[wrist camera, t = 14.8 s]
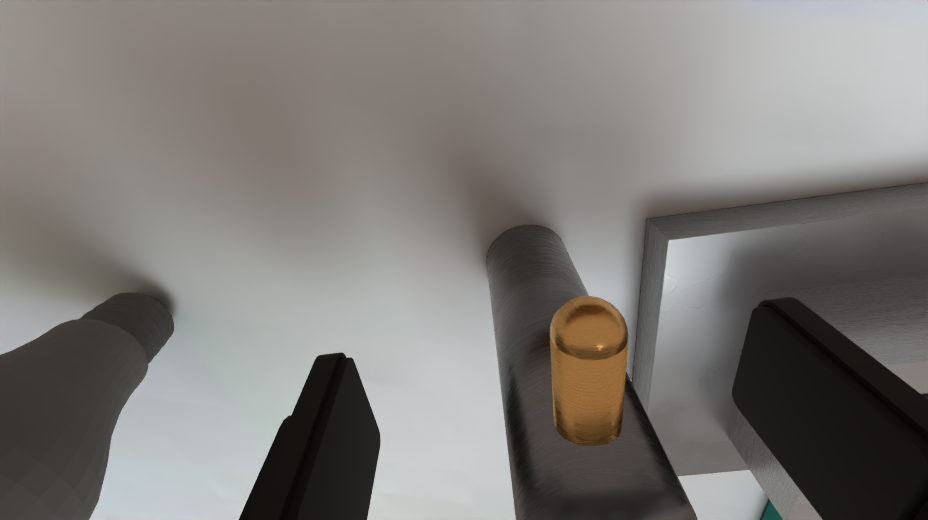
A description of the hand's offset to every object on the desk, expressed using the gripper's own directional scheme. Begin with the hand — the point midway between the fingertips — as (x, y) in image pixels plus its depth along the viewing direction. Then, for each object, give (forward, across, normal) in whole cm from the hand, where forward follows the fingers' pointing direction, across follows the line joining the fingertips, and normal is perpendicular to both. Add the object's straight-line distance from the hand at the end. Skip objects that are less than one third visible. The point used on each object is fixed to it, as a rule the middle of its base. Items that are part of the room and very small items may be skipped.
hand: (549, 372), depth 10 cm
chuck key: (+5, 0, 0) cm, 5 cm away
